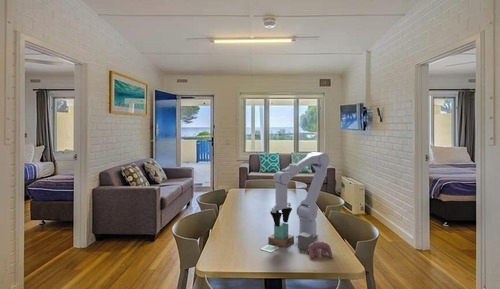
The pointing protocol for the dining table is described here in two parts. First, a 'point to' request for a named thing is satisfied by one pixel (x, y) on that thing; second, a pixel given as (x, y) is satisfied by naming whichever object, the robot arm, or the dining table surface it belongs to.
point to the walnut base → (281, 240)
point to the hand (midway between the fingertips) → (281, 224)
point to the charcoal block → (305, 240)
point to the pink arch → (319, 245)
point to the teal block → (281, 230)
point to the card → (269, 248)
